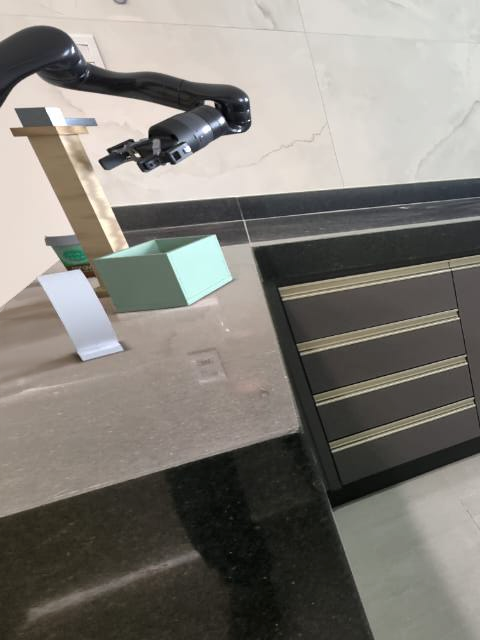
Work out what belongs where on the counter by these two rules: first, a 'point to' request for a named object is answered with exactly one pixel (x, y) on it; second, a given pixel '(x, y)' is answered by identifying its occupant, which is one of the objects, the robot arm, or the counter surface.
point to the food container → (70, 253)
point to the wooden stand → (77, 190)
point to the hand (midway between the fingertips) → (121, 166)
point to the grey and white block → (49, 118)
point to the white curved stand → (81, 313)
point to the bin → (163, 272)
